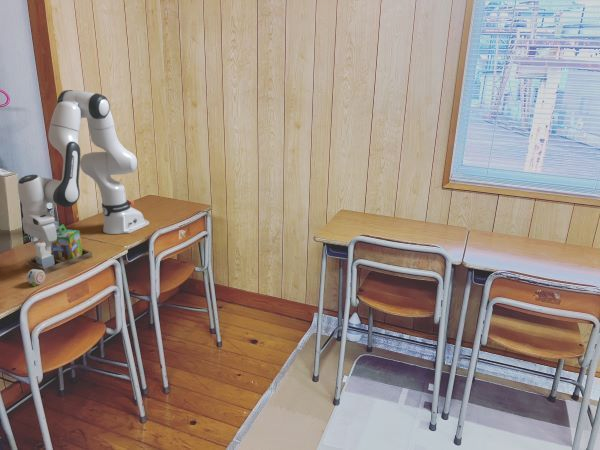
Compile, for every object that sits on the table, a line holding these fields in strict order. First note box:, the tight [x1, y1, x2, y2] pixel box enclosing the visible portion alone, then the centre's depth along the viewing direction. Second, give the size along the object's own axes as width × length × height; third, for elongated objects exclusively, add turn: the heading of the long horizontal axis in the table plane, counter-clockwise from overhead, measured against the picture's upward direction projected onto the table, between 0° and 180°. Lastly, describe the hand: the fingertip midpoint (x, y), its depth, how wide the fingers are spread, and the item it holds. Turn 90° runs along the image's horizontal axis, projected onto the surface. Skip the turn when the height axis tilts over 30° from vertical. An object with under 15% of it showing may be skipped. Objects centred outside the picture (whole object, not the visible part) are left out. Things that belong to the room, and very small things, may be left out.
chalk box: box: [51, 224, 84, 262], centre depth 211 cm, size 9×9×15 cm
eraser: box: [34, 241, 52, 258], centre depth 204 cm, size 4×4×5 cm
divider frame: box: [26, 248, 93, 275], centre depth 211 cm, size 21×14×2 cm, turn 144°
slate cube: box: [34, 254, 55, 268], centre depth 206 cm, size 5×5×5 cm
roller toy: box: [26, 268, 46, 287], centre depth 191 cm, size 4×6×6 cm
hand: (42, 247), depth 204 cm, fingers open, 8 cm apart
